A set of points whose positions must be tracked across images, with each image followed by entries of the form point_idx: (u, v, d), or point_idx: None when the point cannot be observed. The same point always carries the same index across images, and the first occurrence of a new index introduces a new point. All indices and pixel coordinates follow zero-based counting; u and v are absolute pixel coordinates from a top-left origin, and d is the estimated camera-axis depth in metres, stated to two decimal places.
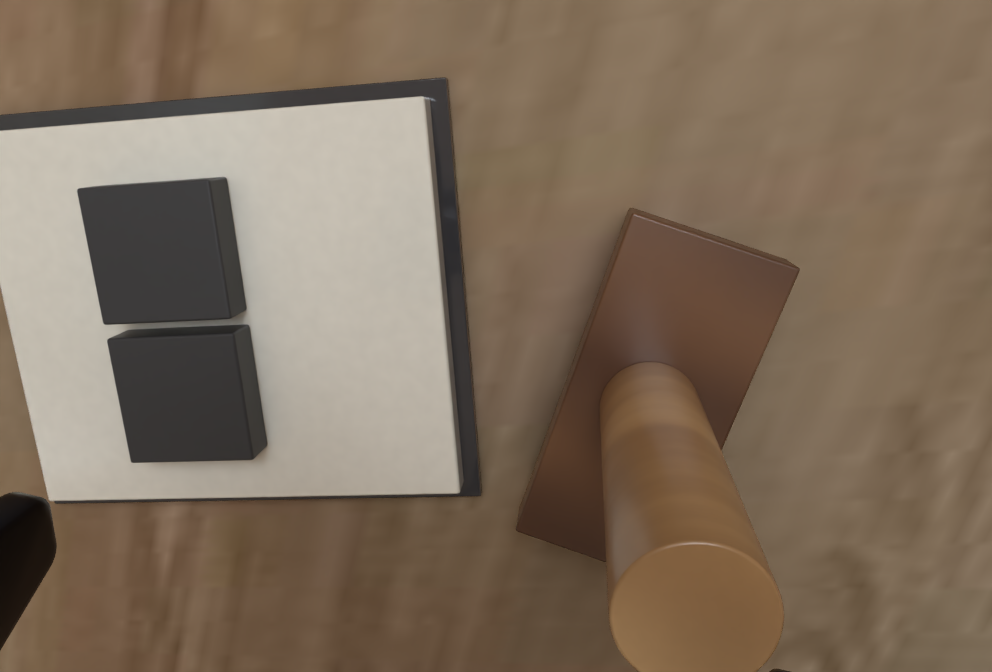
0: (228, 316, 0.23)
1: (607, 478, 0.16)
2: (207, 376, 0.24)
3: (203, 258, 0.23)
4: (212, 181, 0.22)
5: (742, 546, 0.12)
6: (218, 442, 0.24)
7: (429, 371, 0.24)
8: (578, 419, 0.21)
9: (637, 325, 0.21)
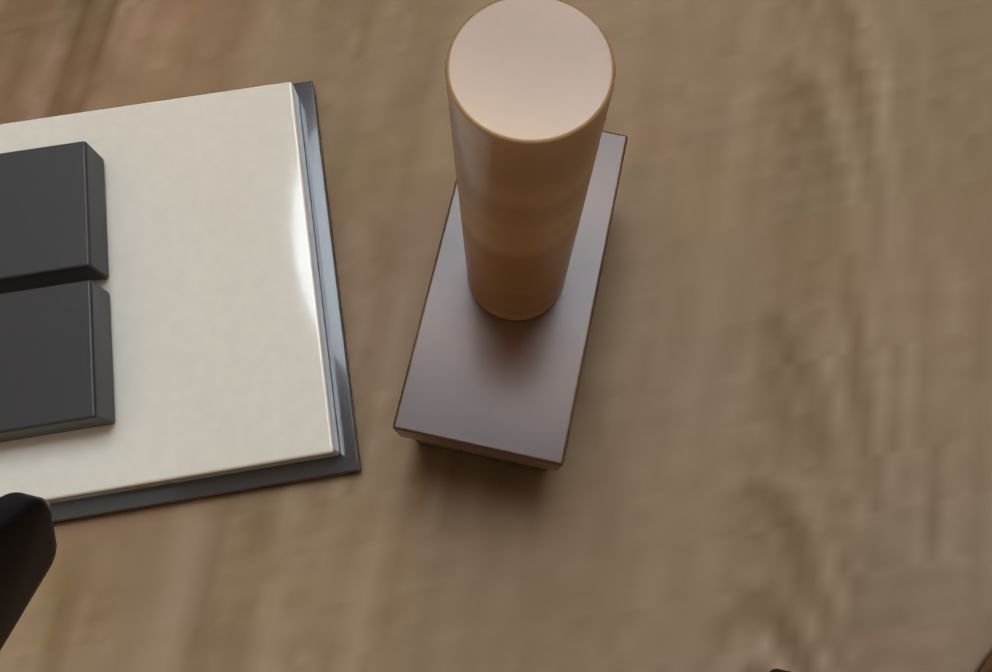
0: (87, 262, 0.23)
1: None
2: (55, 327, 0.22)
3: (69, 209, 0.23)
4: (89, 145, 0.24)
5: (562, 8, 0.13)
6: (57, 400, 0.22)
7: (298, 318, 0.23)
8: (448, 293, 0.21)
9: None
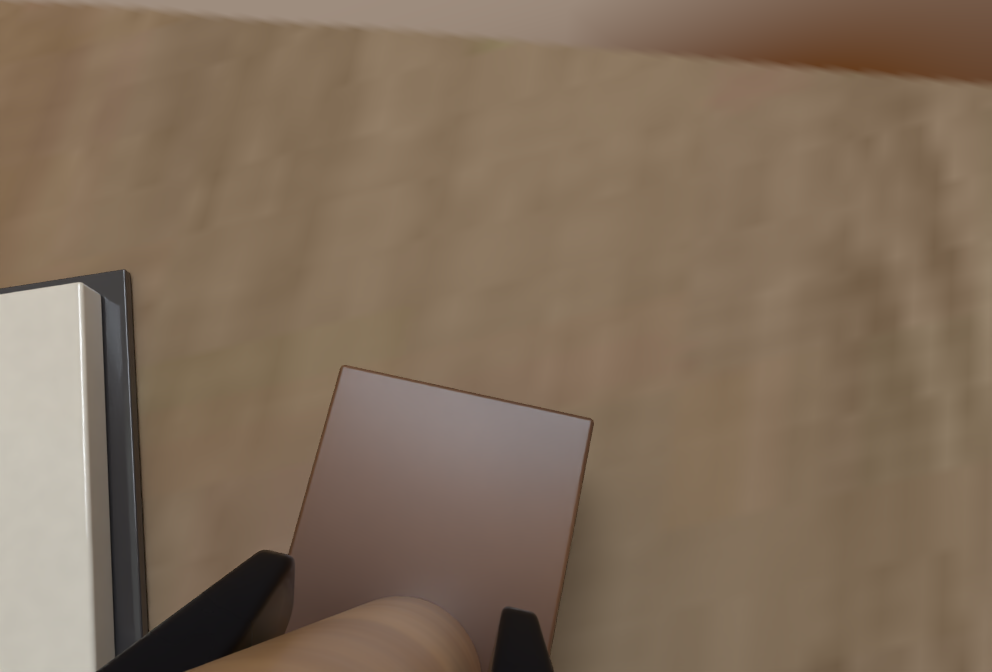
0: None
1: None
2: None
3: None
4: None
5: None
6: None
7: None
8: None
9: (363, 537, 0.13)
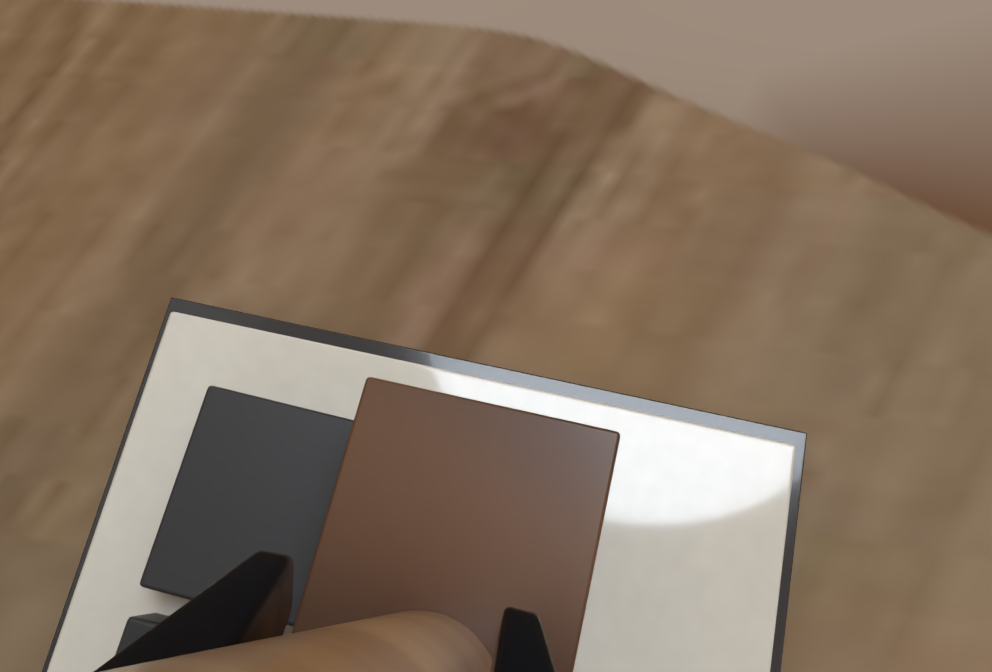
0: None
1: None
2: None
3: None
4: None
5: None
6: None
7: None
8: None
9: (385, 550, 0.13)
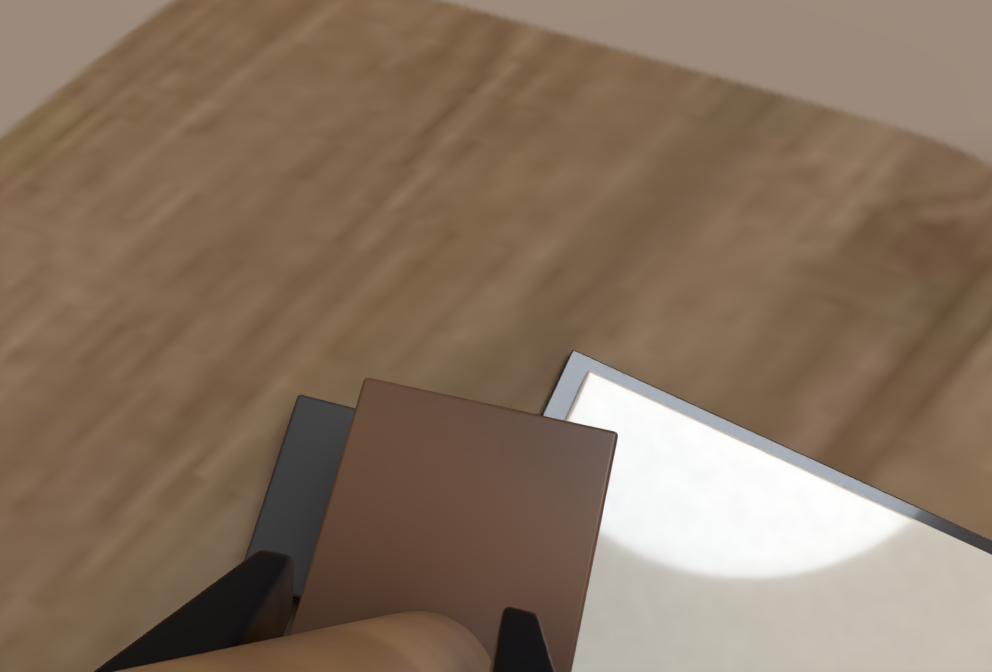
0: None
1: None
2: None
3: None
4: None
5: None
6: None
7: None
8: None
9: (383, 550, 0.13)
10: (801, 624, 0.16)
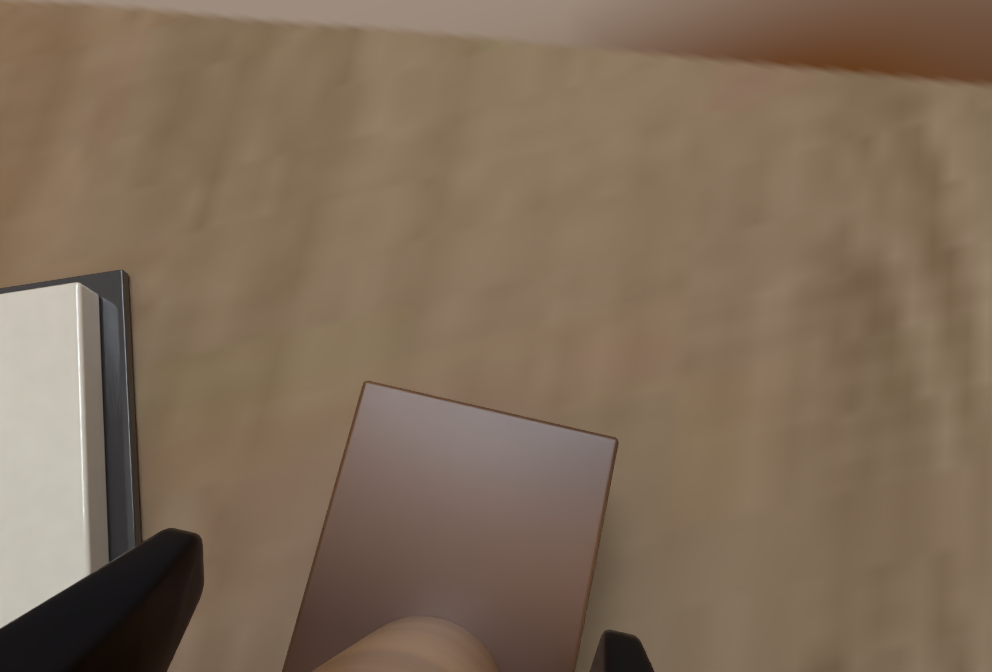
0: None
1: None
2: None
3: None
4: None
5: None
6: None
7: None
8: None
9: (386, 555, 0.13)
10: None
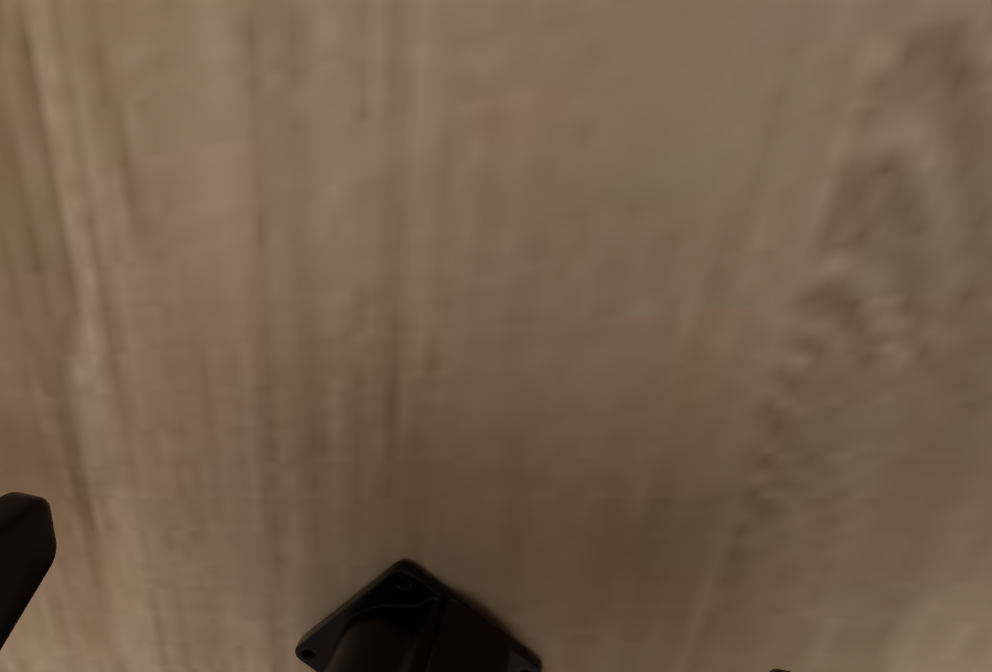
0: None
1: None
2: None
3: None
4: None
5: None
6: None
7: None
8: None
9: None
10: None
